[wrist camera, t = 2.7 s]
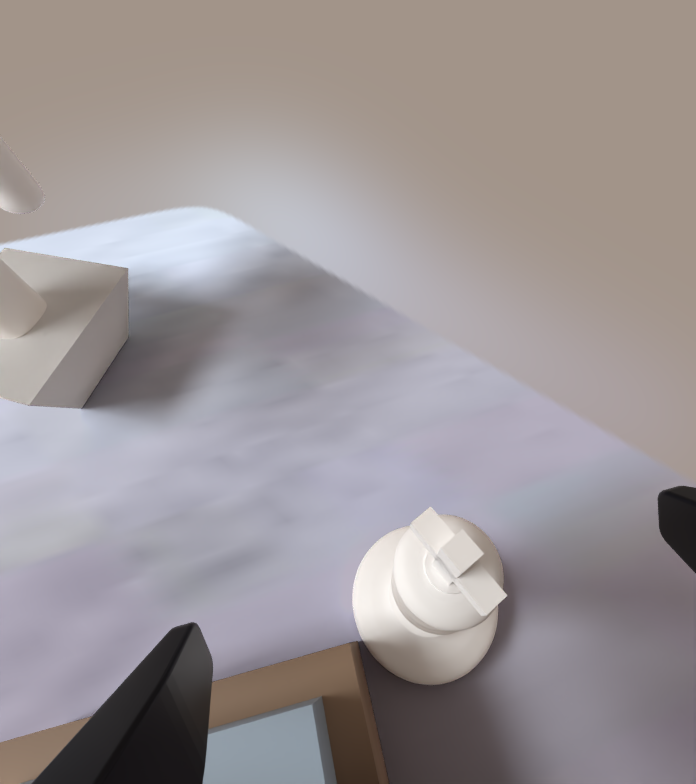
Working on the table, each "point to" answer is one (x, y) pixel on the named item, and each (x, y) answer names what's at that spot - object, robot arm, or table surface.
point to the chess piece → (429, 598)
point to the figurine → (54, 311)
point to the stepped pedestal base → (263, 727)
